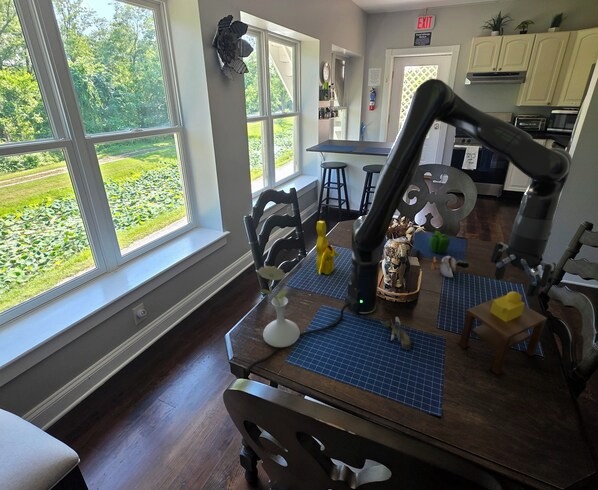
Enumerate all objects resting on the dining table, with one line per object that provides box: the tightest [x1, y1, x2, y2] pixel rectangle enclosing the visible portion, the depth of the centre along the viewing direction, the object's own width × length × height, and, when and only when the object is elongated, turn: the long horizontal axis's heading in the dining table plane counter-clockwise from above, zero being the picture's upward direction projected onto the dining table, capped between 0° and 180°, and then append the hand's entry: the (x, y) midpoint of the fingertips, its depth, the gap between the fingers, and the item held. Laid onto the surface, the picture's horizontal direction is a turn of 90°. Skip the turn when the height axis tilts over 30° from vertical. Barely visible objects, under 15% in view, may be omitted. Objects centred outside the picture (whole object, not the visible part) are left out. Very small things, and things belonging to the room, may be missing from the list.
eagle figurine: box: [380, 316, 413, 350], centre depth 97 cm, size 8×7×9 cm
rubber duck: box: [490, 291, 526, 322], centre depth 87 cm, size 8×5×6 cm, turn 115°
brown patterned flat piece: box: [379, 239, 422, 260], centre depth 147 cm, size 15×22×5 cm
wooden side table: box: [458, 294, 548, 375], centre depth 91 cm, size 16×12×13 cm
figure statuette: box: [315, 220, 340, 275], centre depth 132 cm, size 18×8×22 cm, turn 148°
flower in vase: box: [257, 265, 301, 349], centre depth 96 cm, size 13×11×25 cm
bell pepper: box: [429, 230, 451, 254], centre depth 147 cm, size 8×8×10 cm
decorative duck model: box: [430, 255, 470, 279], centre depth 129 cm, size 15×8×15 cm
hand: (514, 287), depth 85 cm, fingers open, 8 cm apart
